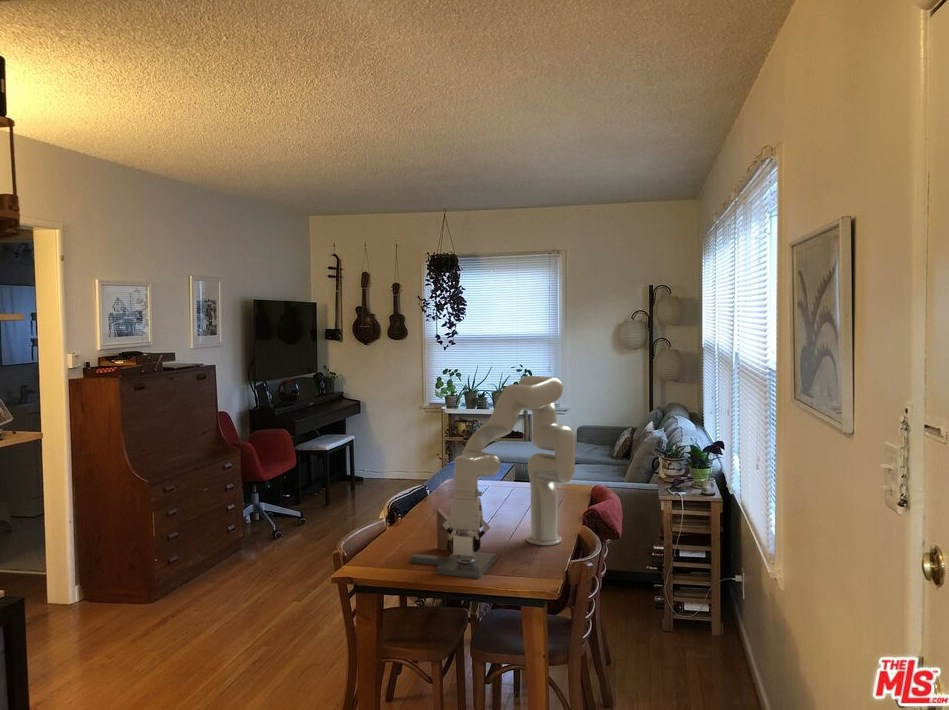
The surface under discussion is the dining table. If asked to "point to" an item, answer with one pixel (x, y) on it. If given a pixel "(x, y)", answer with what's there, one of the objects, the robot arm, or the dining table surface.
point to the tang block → (458, 564)
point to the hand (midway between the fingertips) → (466, 549)
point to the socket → (464, 543)
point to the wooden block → (443, 532)
